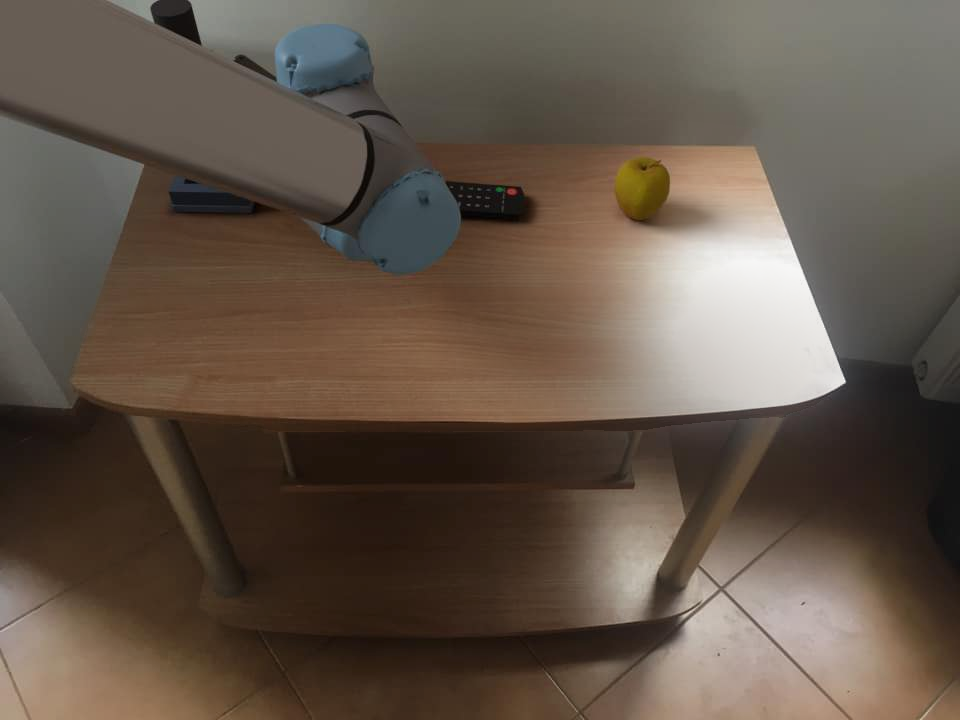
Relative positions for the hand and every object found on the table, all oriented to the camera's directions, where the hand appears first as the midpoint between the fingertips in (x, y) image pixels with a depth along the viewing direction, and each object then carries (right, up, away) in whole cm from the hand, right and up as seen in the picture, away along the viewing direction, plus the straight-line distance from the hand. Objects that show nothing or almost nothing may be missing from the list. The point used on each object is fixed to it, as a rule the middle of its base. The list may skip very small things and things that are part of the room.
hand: (165, 54), depth 87 cm
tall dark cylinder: (+3, -9, +4) cm, 10 cm away
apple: (+54, -16, +9) cm, 57 cm away
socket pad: (+3, -13, +9) cm, 16 cm away
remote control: (+28, -15, +9) cm, 33 cm away
